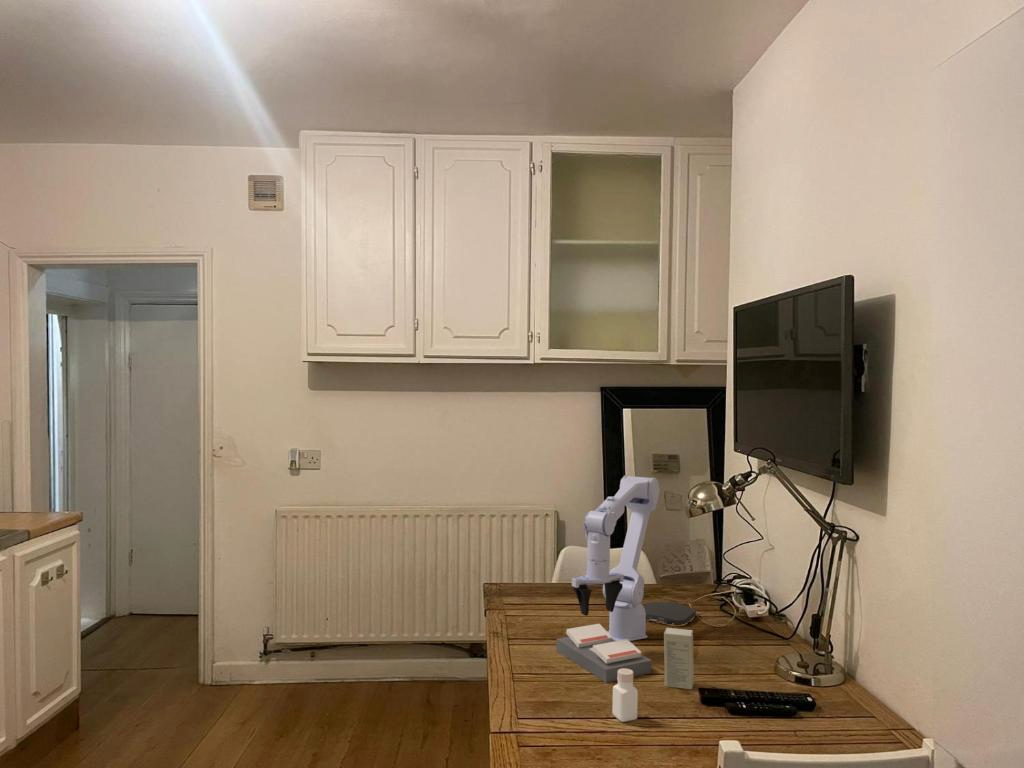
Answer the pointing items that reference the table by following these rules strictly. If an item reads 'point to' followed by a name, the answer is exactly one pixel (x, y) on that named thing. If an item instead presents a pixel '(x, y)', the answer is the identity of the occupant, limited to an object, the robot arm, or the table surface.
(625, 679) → the white pill bottle
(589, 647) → the rocker switch panel
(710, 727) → the table surface
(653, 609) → the media streaming box
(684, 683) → the skincare box
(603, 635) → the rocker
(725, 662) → the table surface
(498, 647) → the table surface
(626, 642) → the rocker
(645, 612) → the robot arm
